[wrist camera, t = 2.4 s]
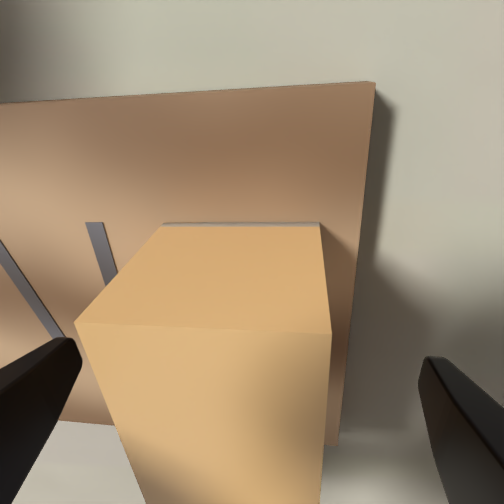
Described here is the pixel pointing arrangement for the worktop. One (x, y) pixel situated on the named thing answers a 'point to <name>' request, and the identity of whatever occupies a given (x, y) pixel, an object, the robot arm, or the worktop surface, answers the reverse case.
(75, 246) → the board
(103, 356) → the block
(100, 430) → the worktop surface
